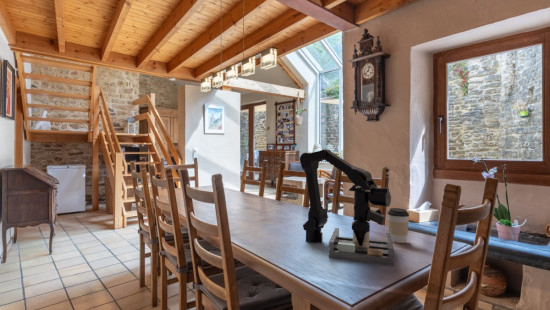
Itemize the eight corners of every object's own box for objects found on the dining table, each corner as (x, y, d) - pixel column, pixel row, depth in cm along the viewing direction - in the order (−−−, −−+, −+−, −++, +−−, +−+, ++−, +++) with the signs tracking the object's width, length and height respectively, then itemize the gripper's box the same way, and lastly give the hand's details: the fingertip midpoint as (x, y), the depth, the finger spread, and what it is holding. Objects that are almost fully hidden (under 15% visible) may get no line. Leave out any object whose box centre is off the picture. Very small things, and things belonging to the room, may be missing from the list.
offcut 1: (337, 257, 109) (337, 243, 109) (338, 255, 111) (338, 242, 111) (354, 259, 107) (354, 245, 107) (354, 257, 109) (355, 243, 109)
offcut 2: (367, 260, 106) (367, 249, 106) (367, 258, 108) (367, 247, 107) (382, 262, 104) (382, 251, 104) (382, 260, 106) (382, 249, 106)
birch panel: (352, 252, 114) (353, 229, 114) (353, 250, 116) (353, 228, 116) (369, 254, 112) (369, 230, 112) (369, 252, 114) (369, 229, 114)
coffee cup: (407, 240, 133) (407, 207, 133) (410, 246, 125) (411, 211, 124) (385, 238, 136) (386, 206, 136) (387, 244, 127) (388, 210, 127)
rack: (328, 260, 108) (329, 241, 108) (335, 244, 127) (335, 228, 127) (393, 268, 101) (393, 248, 101) (389, 250, 120) (390, 233, 120)
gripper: (385, 209, 102) (384, 254, 103) (383, 200, 120) (382, 238, 120) (352, 207, 106) (351, 250, 106) (354, 199, 123) (354, 236, 124)
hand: (361, 243), depth 114 cm, fingers open, 5 cm apart
